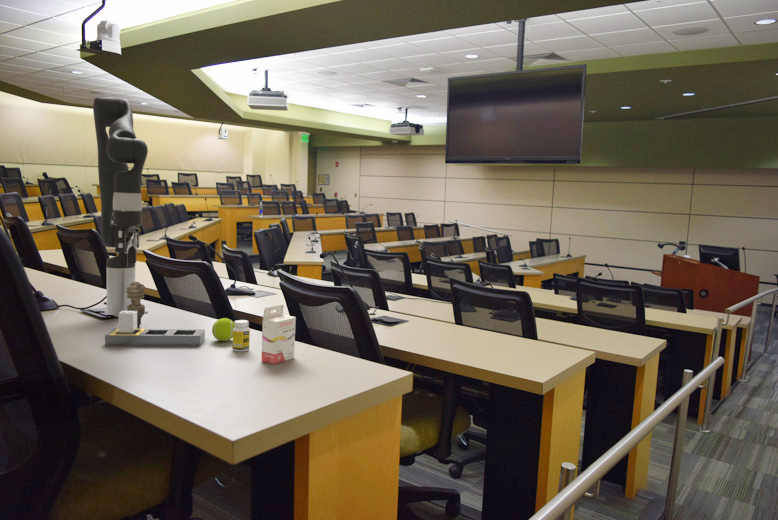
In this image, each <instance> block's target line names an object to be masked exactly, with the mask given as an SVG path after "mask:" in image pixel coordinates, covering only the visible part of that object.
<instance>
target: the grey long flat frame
mask: <svg viewBox="0 0 778 520" xmlns="http://www.w3.org/2000/svg"><path fill="white" fill-rule="evenodd" d="M205 331H206V330H205V329H201V328H200V329H198V328H197V329H196V328H195V329H186V328H185V329H183V328H182V329H181V328H180V329H179V328H178V329H177V328H176V329H175V328H174V329H172V328H171V329H170V328H169V329H167V328H164V329H163V328H162V329H161V328H137V333H136V334H119V331H118V328H113V329H112V330H111V331H109V332H108V333H106V334H105V335H104V346H105V347H110V346H111V347H113V346H115V347H119V346H120V347H127V346H128V347H130V346H131V347H201V345H202V344H203V343H204V341H205V337H206V336H205V333H206V332H205Z"/></svg>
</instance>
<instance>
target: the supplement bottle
mask: <svg viewBox="0 0 778 520" xmlns="http://www.w3.org/2000/svg"><path fill="white" fill-rule="evenodd" d="M233 322H234V326H235V327H234V328H233V338H232V351H233V352H236V353H237V352H239V353H241V352H242V353H243V352H247V351H250V334H251V333H250V331H251V330H250V327H249V326H250V323H249V320H246V319H237V320H234V321H233Z"/></svg>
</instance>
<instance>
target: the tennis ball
mask: <svg viewBox="0 0 778 520" xmlns="http://www.w3.org/2000/svg"><path fill="white" fill-rule="evenodd" d="M234 327H235V326H234V321H233V320H232V319H229V318H227V317H223V318H219V319H217V320H216V321H215V322H214V323H213V325H212V328H211V332H212V335H213V337H214V338H215V339H216V340H217V341H220V342H228V341H230V340H231V339H232V340H233V328H234Z"/></svg>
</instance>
